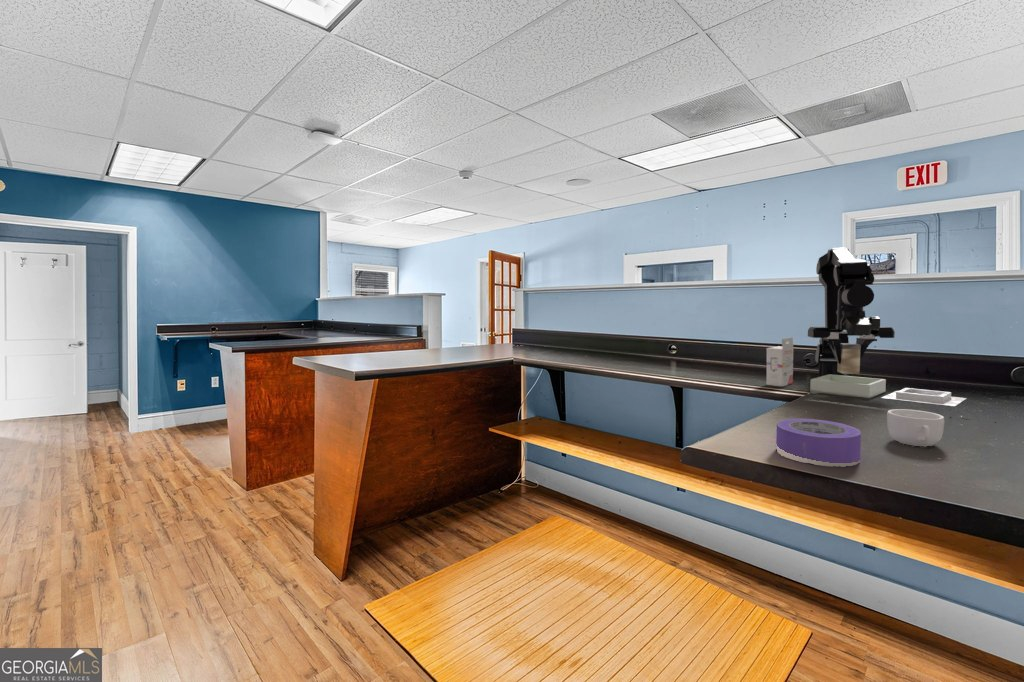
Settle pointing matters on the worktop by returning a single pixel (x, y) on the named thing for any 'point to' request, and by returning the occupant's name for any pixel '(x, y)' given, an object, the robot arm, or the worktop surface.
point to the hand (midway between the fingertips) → (848, 363)
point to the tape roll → (819, 440)
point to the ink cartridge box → (780, 364)
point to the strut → (849, 358)
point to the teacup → (915, 427)
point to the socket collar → (925, 396)
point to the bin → (848, 386)
